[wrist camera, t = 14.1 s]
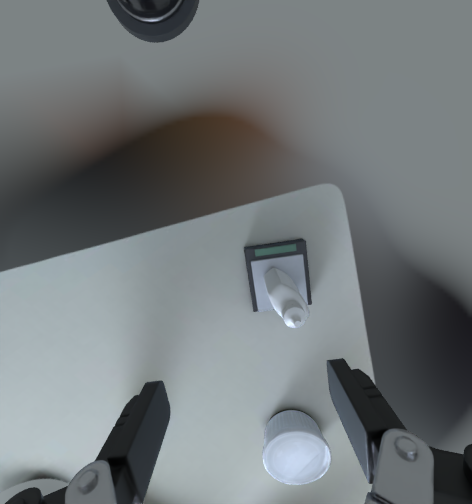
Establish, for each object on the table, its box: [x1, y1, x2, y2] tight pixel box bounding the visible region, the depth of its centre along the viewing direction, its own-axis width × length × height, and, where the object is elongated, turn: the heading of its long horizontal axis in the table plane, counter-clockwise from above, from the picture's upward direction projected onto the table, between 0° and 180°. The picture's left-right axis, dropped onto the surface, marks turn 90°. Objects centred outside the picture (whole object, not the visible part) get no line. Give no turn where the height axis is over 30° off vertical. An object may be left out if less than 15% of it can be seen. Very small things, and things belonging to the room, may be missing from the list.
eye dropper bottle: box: [264, 268, 309, 328], centre depth 30 cm, size 4×6×12 cm
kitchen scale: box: [244, 239, 312, 312], centre depth 37 cm, size 10×9×3 cm
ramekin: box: [262, 410, 331, 485], centre depth 42 cm, size 11×11×5 cm
